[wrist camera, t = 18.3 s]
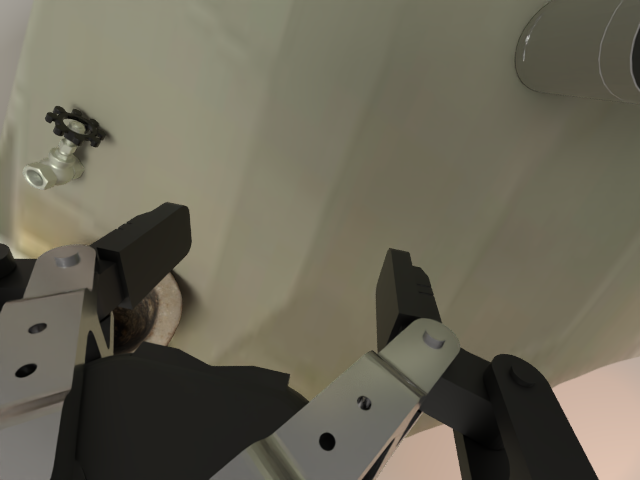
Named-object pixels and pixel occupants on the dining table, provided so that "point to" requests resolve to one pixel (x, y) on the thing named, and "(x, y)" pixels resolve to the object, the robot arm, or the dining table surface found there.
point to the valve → (63, 150)
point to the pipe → (149, 318)
